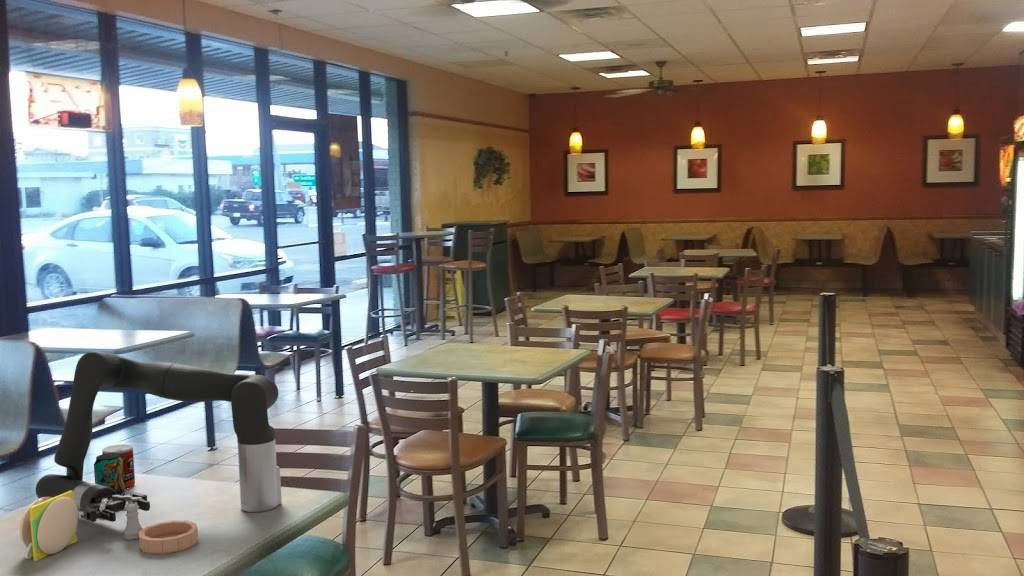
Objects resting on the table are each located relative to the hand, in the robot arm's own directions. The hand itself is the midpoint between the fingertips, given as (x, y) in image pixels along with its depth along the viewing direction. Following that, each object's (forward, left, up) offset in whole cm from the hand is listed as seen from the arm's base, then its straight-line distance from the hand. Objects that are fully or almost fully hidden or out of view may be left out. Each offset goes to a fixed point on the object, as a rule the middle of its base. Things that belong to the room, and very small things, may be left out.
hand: (131, 511), depth 214 cm
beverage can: (-12, -30, -6) cm, 33 cm away
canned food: (-20, -39, -6) cm, 44 cm away
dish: (-2, +11, -6) cm, 13 cm away
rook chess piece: (0, 0, -6) cm, 6 cm away
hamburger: (+15, -9, -6) cm, 18 cm away
